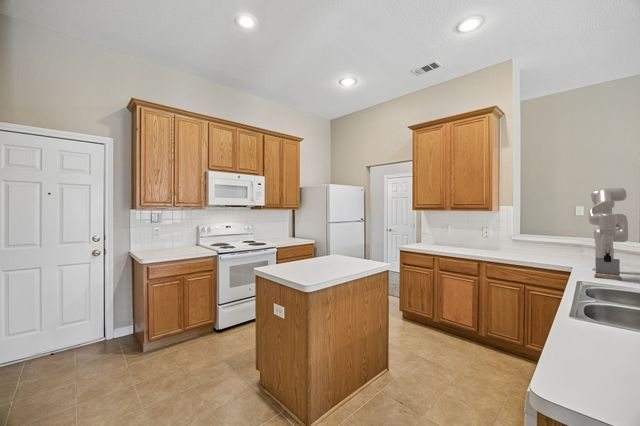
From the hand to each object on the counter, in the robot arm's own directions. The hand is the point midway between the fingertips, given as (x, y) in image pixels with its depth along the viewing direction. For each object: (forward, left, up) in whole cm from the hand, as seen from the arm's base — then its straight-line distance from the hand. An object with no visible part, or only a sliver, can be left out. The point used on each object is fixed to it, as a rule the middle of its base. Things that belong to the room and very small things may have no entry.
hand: (607, 261), depth 180 cm
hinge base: (-1, 0, -11) cm, 11 cm away
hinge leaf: (-8, 0, -5) cm, 9 cm away
